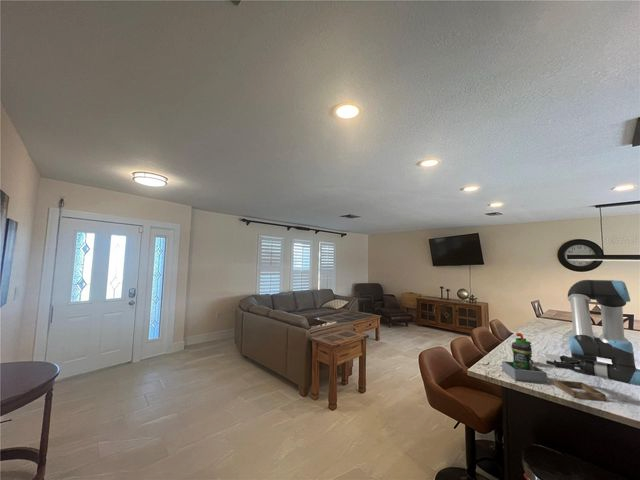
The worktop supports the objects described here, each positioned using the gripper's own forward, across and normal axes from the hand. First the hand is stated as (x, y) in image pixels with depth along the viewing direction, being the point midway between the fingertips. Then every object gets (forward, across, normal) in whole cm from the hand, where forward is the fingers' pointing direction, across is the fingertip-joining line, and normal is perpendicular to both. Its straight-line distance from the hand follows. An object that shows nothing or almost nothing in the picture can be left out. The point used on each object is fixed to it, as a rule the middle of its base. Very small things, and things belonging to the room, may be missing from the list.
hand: (542, 357), depth 148 cm
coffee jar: (+10, 0, -13) cm, 16 cm away
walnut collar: (-14, -2, -14) cm, 20 cm away
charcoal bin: (+10, 0, -14) cm, 17 cm away
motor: (+17, +32, -14) cm, 39 cm away
